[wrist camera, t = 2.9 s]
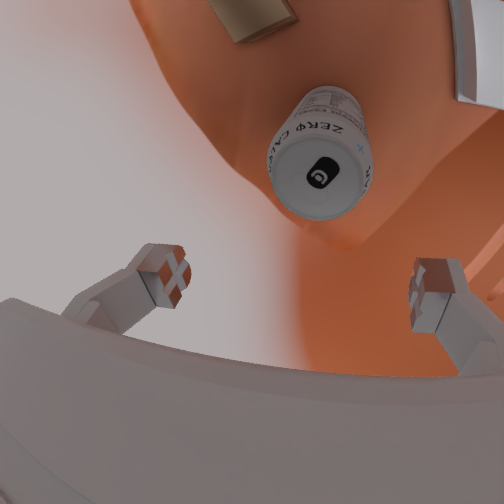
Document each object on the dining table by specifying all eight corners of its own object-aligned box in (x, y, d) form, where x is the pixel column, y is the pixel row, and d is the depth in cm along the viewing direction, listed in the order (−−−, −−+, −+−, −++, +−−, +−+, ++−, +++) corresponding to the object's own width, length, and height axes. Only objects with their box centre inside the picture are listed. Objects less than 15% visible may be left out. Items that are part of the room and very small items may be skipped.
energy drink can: (287, 119, 27) (238, 187, 16) (322, 71, 23) (301, 98, 12) (337, 155, 28) (326, 247, 17) (374, 111, 24) (400, 177, 13)
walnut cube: (273, -21, 18) (258, -32, 15) (299, 20, 21) (290, 15, 17) (226, 3, 21) (205, -3, 17) (252, 42, 23) (234, 43, 20)
